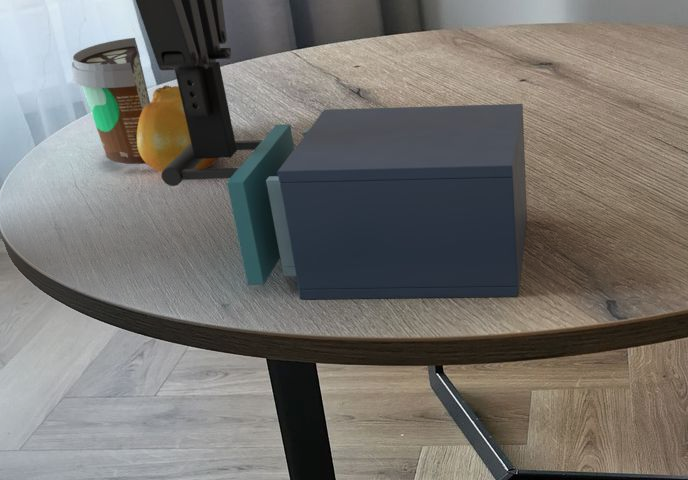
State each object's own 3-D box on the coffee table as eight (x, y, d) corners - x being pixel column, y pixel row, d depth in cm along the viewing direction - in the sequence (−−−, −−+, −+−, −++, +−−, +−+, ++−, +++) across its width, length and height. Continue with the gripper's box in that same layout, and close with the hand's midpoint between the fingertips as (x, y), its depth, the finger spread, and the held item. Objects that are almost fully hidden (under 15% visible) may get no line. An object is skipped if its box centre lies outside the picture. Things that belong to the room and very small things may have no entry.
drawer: (170, 286, 69) (144, 181, 65) (224, 218, 80) (204, 124, 76) (448, 282, 67) (438, 174, 63) (465, 213, 78) (458, 117, 74)
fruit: (138, 133, 96) (127, 74, 89) (222, 129, 98) (217, 70, 92) (144, 198, 92) (133, 141, 85) (231, 191, 95) (227, 135, 88)
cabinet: (300, 299, 68) (277, 171, 63) (340, 222, 80) (323, 109, 75) (518, 296, 67) (512, 165, 62) (527, 219, 79) (522, 103, 74)
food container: (98, 138, 103) (72, 43, 98) (157, 130, 105) (135, 36, 100) (89, 175, 93) (60, 72, 88) (155, 166, 94) (129, 64, 89)
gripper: (155, -222, 52) (239, 186, 64) (229, -223, 64) (288, 125, 76) (24, -213, 53) (131, 189, 65) (120, -216, 64) (196, 128, 76)
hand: (216, 154), depth 70 cm, fingers closed
